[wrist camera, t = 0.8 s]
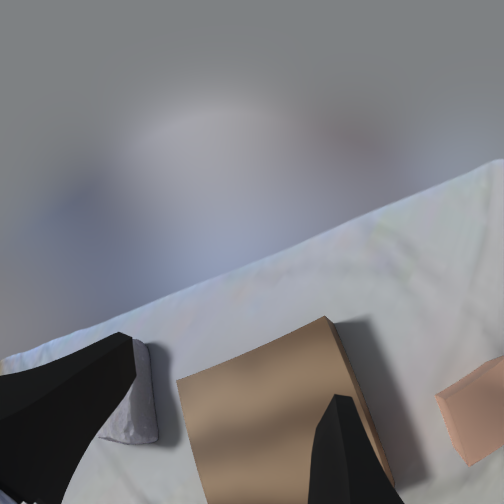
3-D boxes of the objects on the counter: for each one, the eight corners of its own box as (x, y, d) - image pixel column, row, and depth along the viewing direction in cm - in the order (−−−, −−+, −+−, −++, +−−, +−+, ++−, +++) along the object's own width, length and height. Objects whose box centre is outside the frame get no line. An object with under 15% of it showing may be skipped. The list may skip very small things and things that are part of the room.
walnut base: (394, 483, 13) (392, 494, 11) (232, 517, 17) (215, 526, 15) (333, 323, 22) (324, 315, 20) (194, 383, 25) (176, 380, 23)
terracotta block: (505, 412, 12) (536, 418, 7) (453, 446, 13) (468, 466, 8) (486, 362, 14) (512, 351, 10) (434, 395, 15) (445, 399, 11)
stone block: (125, 445, 28) (166, 444, 23) (90, 442, 25) (123, 443, 20) (119, 361, 35) (156, 339, 30) (88, 353, 32) (118, 330, 27)
